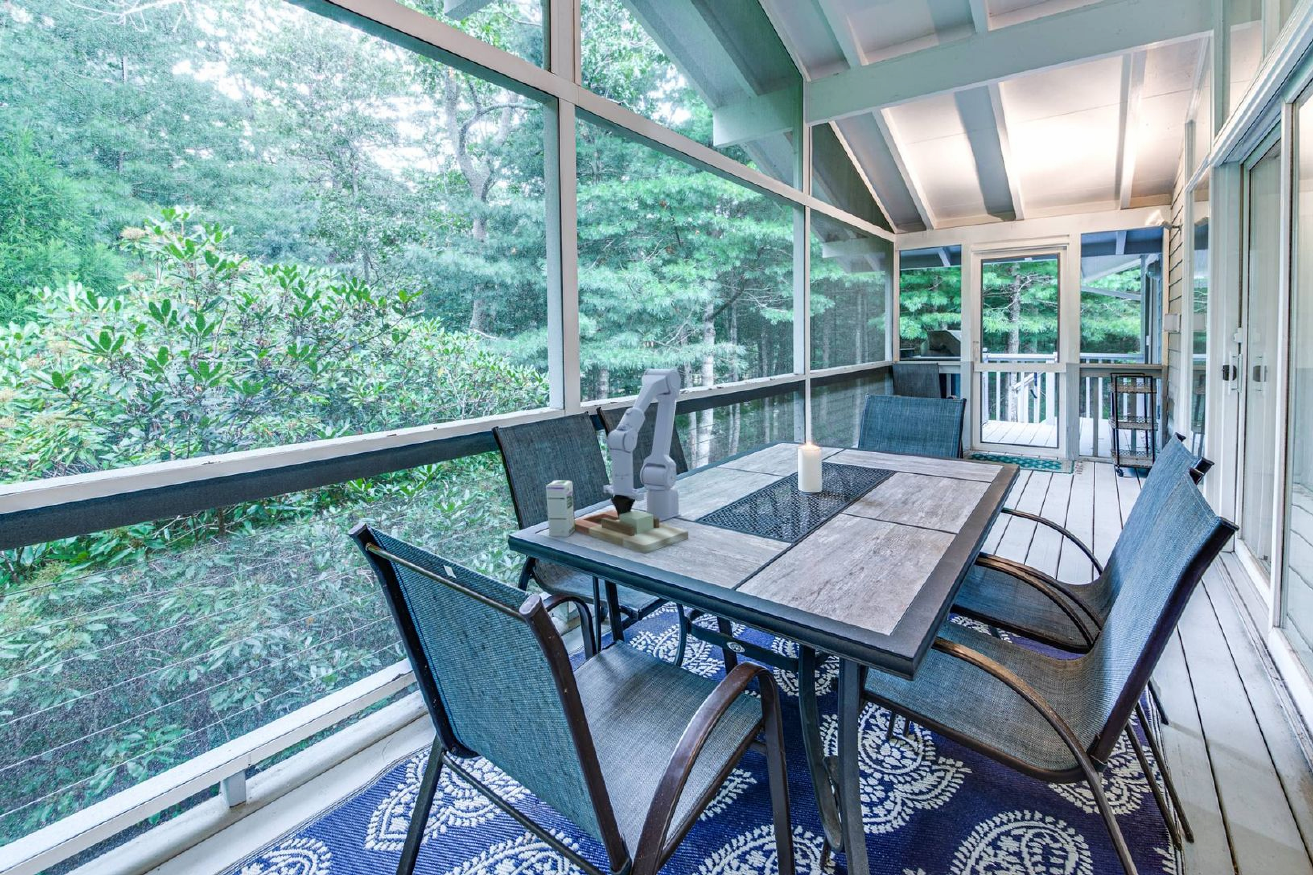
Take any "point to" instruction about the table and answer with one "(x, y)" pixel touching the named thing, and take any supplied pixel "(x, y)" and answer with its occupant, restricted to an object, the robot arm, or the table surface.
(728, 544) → the table surface
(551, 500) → the syrup box
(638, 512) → the sage block
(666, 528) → the trap track
